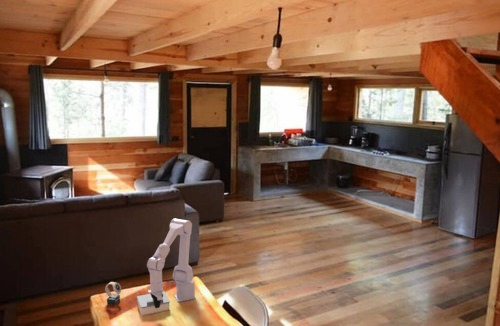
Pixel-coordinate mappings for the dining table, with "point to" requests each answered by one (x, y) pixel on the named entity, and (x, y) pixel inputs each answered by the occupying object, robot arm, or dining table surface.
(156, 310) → the box
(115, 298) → the watch
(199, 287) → the dining table surface
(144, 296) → the lid
